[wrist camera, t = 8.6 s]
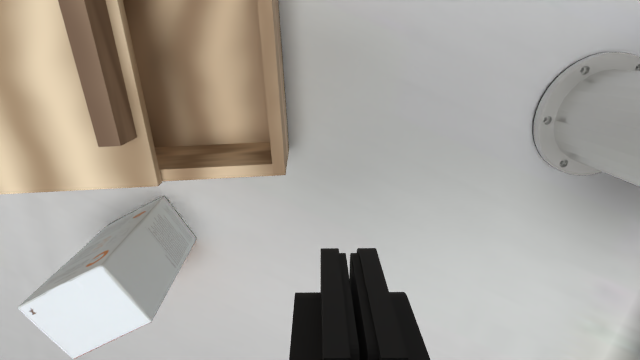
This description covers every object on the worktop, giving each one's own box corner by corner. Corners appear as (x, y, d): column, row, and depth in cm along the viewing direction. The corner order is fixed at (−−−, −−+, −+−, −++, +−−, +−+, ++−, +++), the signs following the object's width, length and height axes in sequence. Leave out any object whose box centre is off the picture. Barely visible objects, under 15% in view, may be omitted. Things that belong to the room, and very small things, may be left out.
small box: (140, 267, 40) (71, 362, 28) (104, 225, 38) (12, 308, 26) (199, 238, 39) (152, 323, 27) (165, 193, 37) (99, 264, 25)
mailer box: (270, -111, 28) (258, -168, 21) (288, 148, 36) (285, 174, 29) (71, -106, 28) (-14, -162, 20) (134, 156, 36) (89, 184, 28)
